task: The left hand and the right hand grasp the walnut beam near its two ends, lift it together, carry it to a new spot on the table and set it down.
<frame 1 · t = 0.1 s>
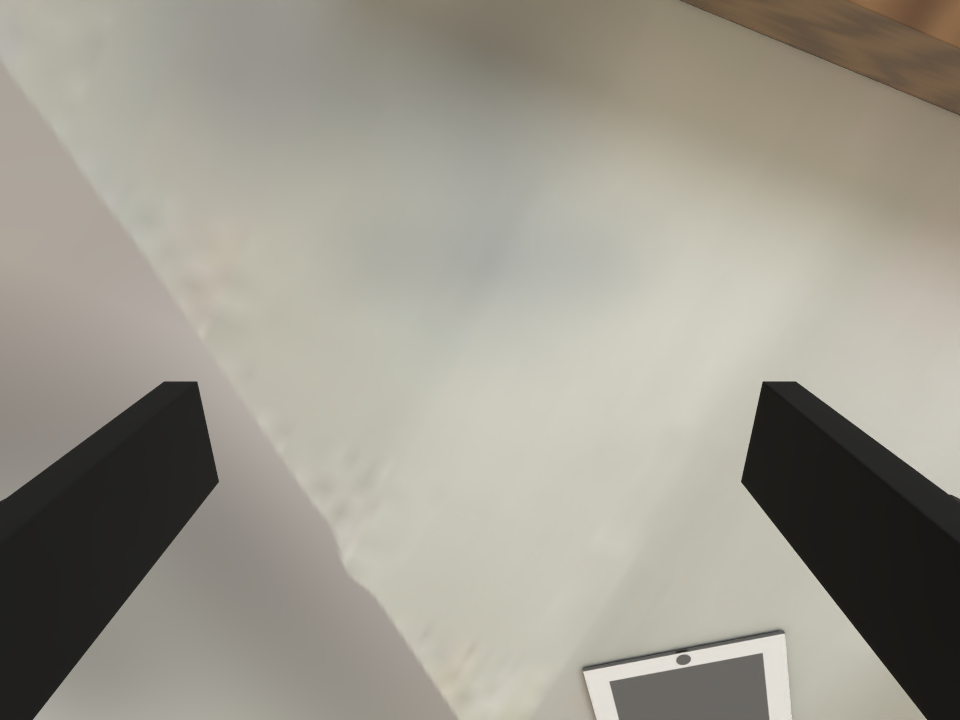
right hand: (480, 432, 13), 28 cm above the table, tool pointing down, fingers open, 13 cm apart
beam: (806, 4, 33), on the table
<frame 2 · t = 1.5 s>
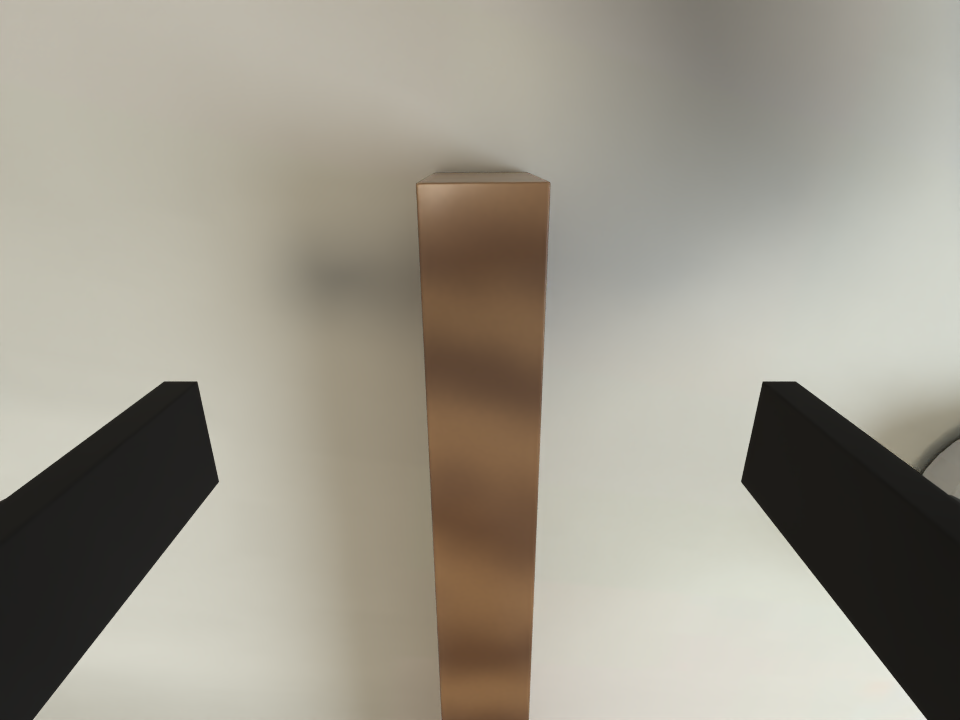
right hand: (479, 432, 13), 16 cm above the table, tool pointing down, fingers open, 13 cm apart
beam: (483, 582, 35), on the table
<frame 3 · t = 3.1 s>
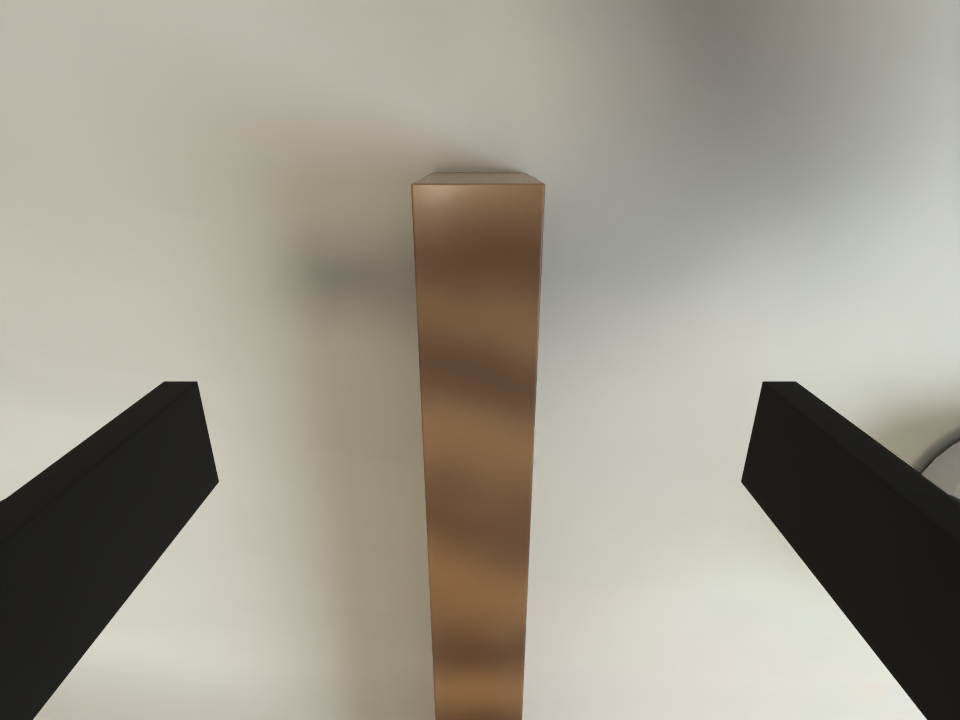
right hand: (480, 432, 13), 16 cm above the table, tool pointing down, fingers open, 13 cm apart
beam: (479, 581, 35), on the table, touching left hand
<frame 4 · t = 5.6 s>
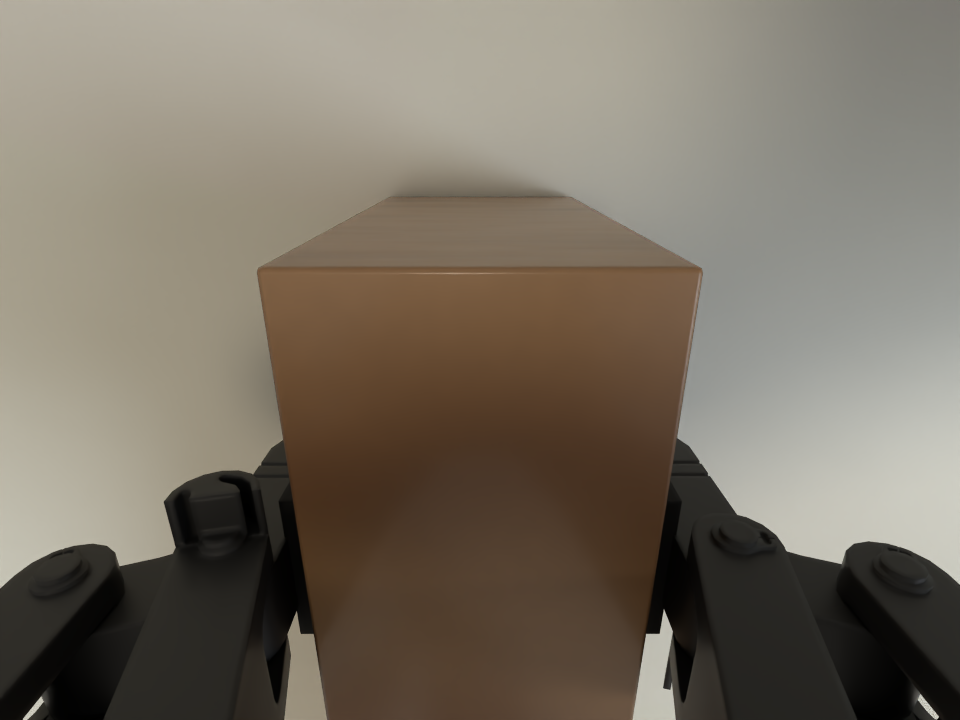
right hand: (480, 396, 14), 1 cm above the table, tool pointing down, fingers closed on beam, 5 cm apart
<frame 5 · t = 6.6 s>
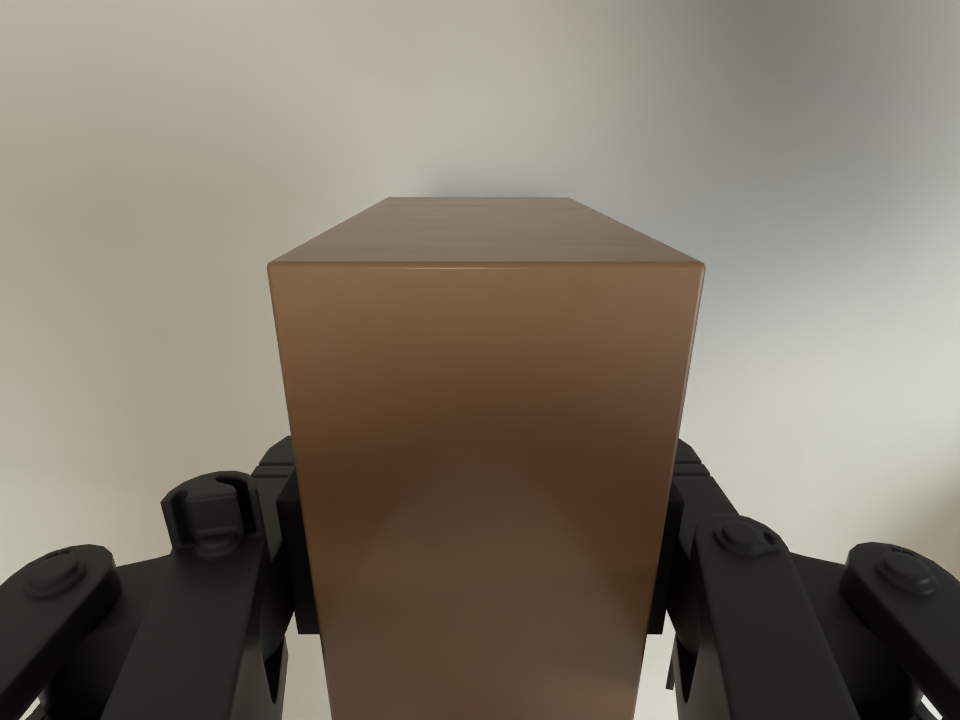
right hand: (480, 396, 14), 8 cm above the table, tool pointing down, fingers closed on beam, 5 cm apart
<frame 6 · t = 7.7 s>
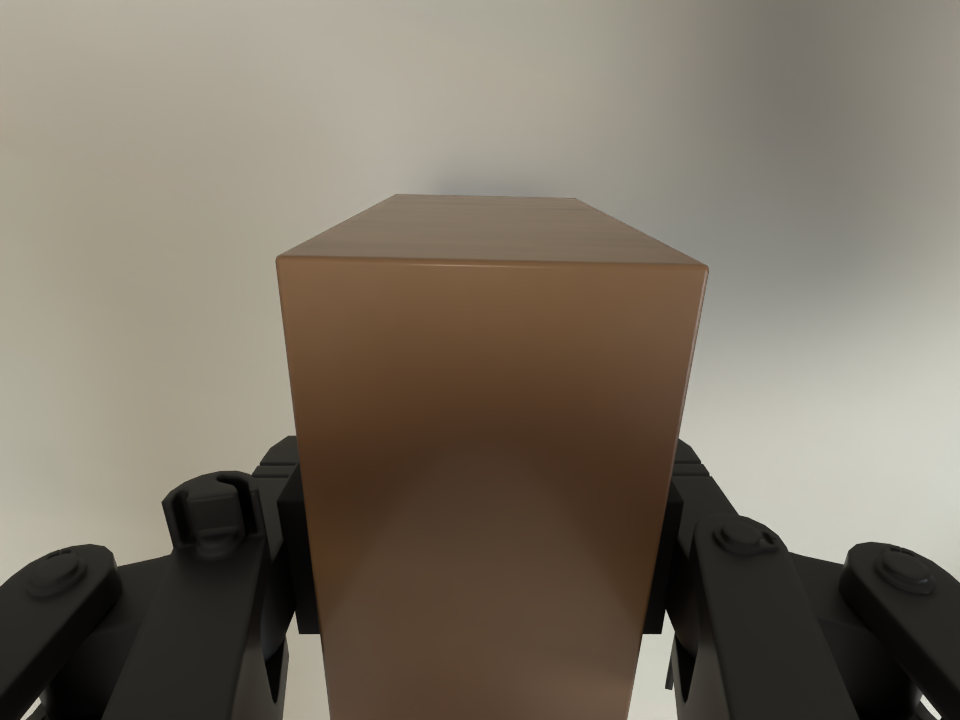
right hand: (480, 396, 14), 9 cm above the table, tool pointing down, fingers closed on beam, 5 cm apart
when the right hand's fingers open (2 cm above the table, at t = 9.9 s): beam drops 1 cm, on the table.
when the left hand's fingers open (5 cm above the table, at t = 10.1 s): beam stays where it is, on the table.
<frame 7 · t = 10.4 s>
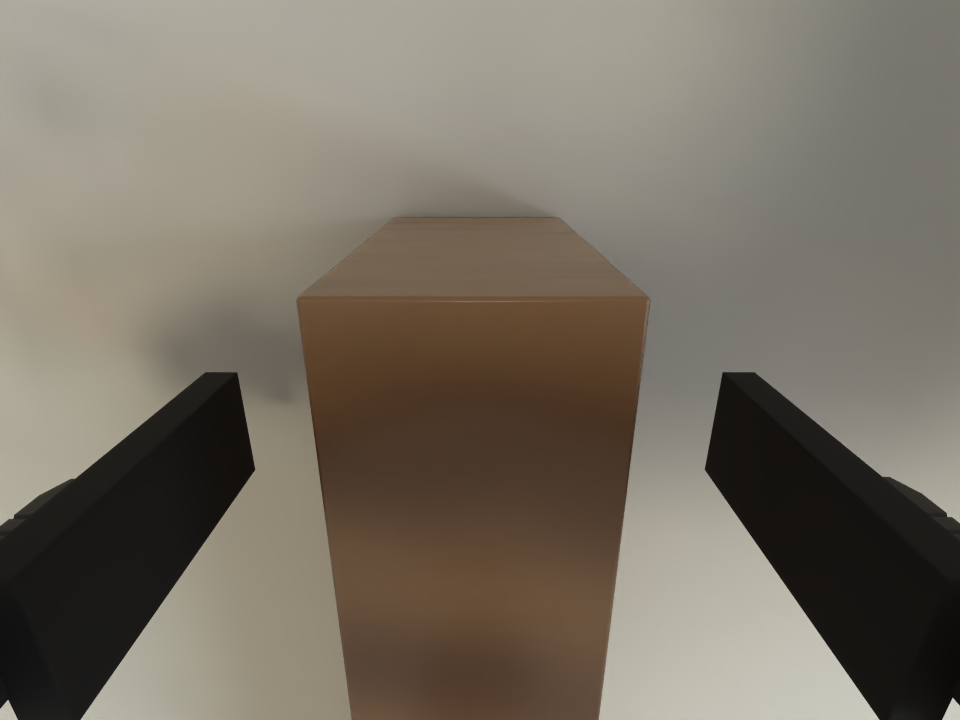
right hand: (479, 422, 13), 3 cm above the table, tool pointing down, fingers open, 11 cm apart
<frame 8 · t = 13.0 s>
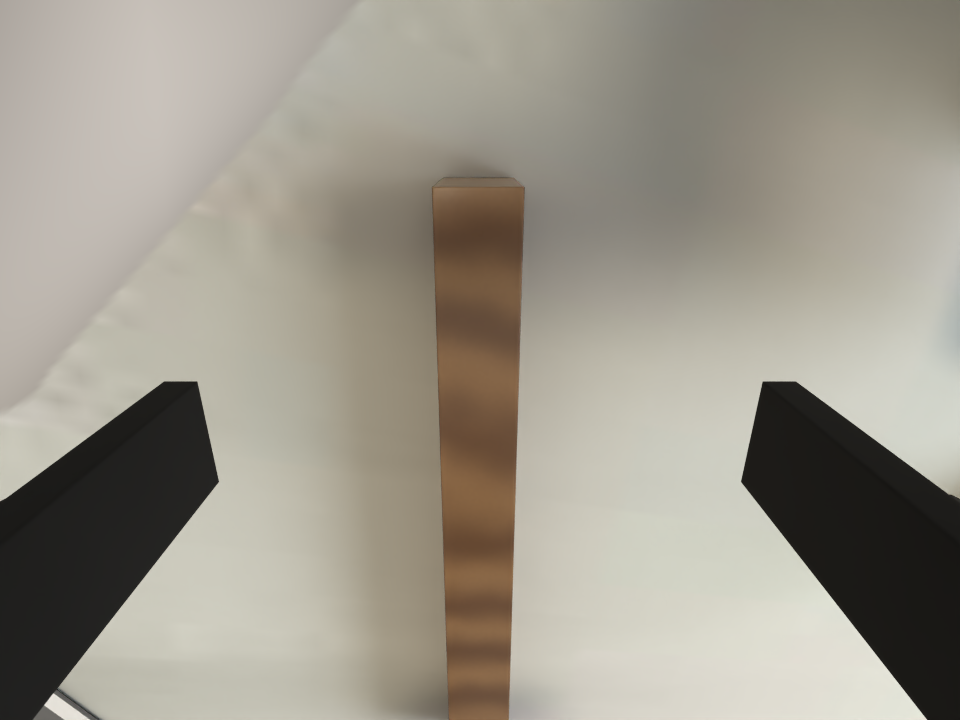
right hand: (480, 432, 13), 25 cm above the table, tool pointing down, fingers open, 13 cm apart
beam: (478, 508, 43), on the table
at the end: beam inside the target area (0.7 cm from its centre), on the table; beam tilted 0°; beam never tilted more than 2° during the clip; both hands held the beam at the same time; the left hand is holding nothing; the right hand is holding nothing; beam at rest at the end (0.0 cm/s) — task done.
